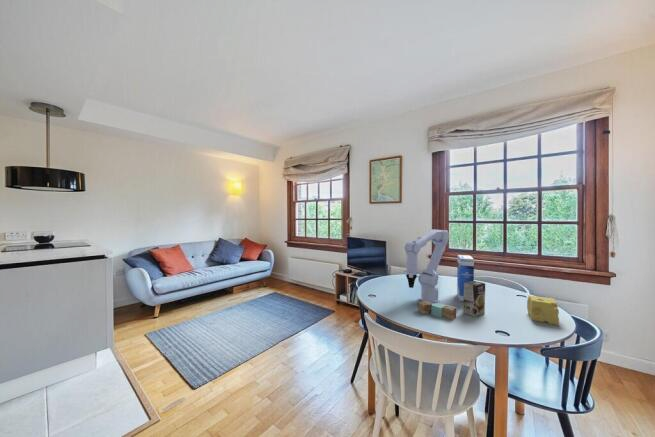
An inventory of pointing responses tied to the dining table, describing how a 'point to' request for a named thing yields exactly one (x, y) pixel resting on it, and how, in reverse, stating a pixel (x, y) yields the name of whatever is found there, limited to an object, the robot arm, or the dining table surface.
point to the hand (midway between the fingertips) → (411, 287)
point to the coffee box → (474, 298)
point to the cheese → (543, 309)
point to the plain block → (437, 309)
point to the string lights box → (464, 273)
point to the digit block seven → (449, 312)
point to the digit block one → (424, 307)
